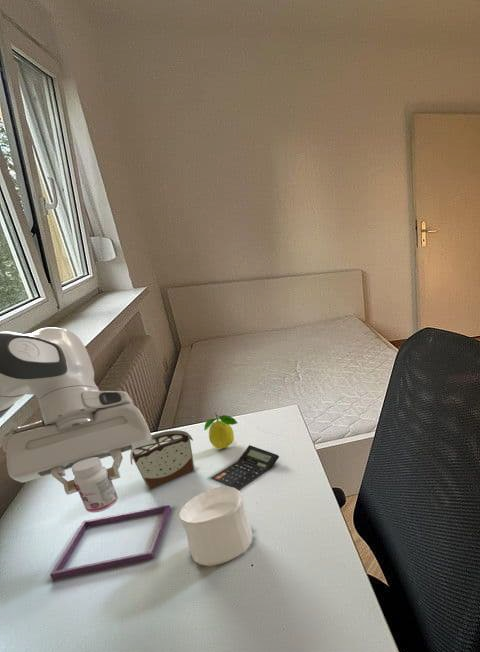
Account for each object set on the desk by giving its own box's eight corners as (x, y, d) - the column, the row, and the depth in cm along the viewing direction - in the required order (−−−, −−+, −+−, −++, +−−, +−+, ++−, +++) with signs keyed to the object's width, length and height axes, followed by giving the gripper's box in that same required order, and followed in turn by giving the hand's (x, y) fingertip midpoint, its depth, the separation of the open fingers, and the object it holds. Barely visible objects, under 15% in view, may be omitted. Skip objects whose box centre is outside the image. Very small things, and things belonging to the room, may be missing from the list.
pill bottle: (79, 512, 74) (60, 471, 71) (101, 494, 79) (84, 454, 75) (103, 514, 74) (86, 472, 70) (124, 496, 78) (109, 455, 75)
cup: (265, 538, 79) (254, 493, 75) (220, 579, 71) (206, 531, 67) (228, 522, 83) (216, 480, 79) (181, 560, 75) (166, 514, 71)
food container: (191, 460, 104) (180, 423, 100) (201, 470, 100) (191, 432, 96) (134, 484, 97) (120, 445, 93) (143, 496, 92) (128, 456, 88)
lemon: (243, 447, 109) (234, 411, 105) (221, 458, 105) (211, 420, 101) (229, 439, 113) (221, 404, 109) (207, 449, 109) (197, 413, 105)
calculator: (211, 481, 96) (207, 469, 95) (253, 455, 105) (250, 444, 104) (239, 493, 91) (236, 481, 90) (281, 465, 100) (278, 453, 99)
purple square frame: (54, 583, 72) (49, 574, 71) (86, 529, 84) (83, 521, 83) (154, 562, 75) (151, 553, 74) (172, 512, 87) (169, 504, 86)
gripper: (-9, 425, 70) (8, 506, 66) (136, 389, 80) (158, 458, 76) (6, 438, 75) (23, 514, 71) (141, 403, 85) (162, 468, 82)
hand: (94, 485), depth 74 cm, fingers closed on pill bottle, 5 cm apart
